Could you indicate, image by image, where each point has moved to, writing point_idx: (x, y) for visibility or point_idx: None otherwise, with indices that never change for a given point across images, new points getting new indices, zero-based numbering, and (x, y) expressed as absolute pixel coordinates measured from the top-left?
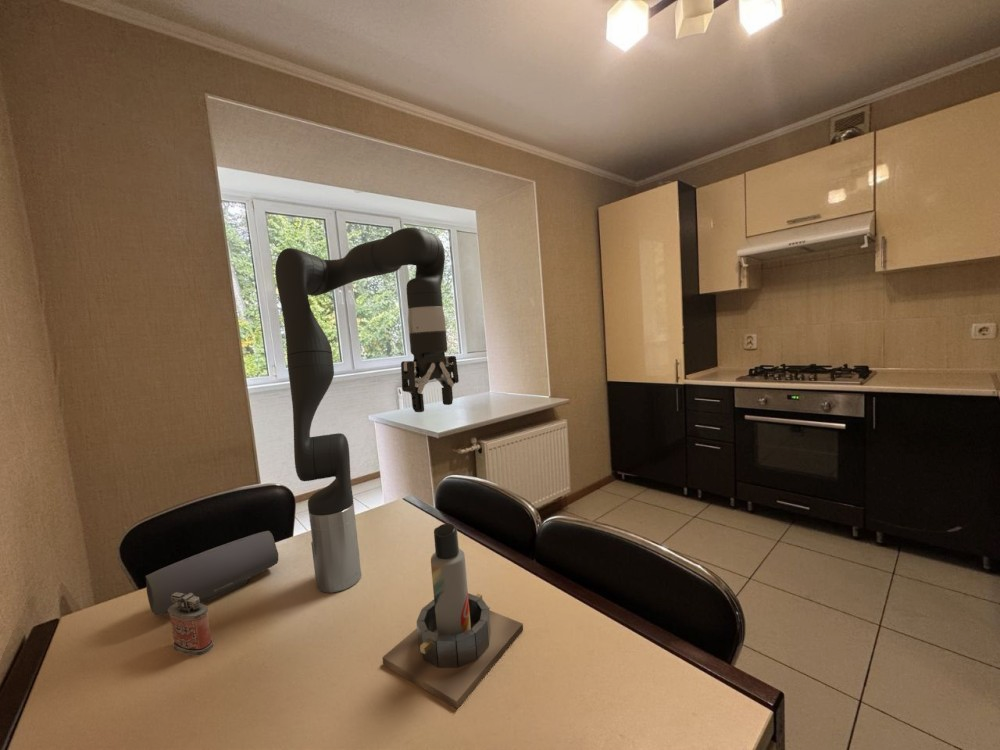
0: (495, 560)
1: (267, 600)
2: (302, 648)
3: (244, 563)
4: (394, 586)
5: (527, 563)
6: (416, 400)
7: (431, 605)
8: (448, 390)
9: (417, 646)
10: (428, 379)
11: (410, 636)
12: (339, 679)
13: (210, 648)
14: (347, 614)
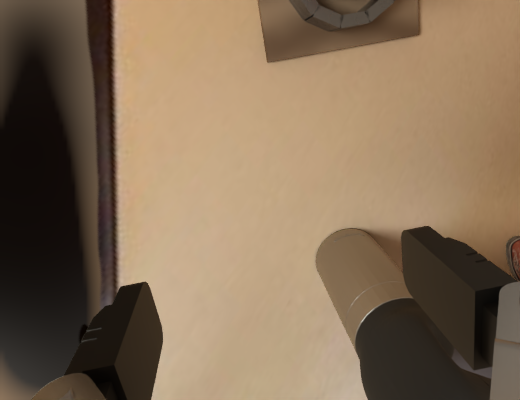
0: (134, 100)
1: None
2: (453, 152)
3: (453, 358)
4: (303, 178)
5: (95, 38)
6: (498, 272)
7: (354, 16)
8: (123, 356)
9: None
10: (499, 375)
11: (371, 37)
12: (458, 59)
13: (512, 238)
14: (384, 171)
